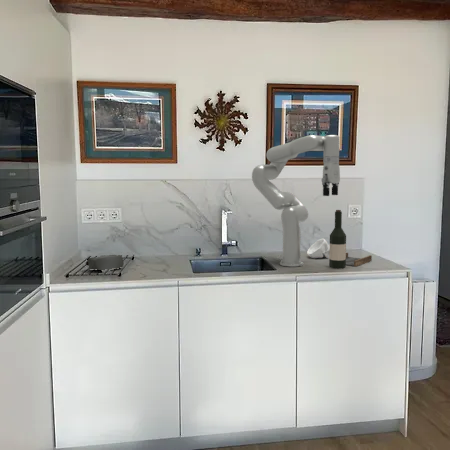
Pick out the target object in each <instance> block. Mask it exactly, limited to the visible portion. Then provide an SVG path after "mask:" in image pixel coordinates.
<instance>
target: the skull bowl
mask: <svg viewBox="0 0 450 450" xmlns="http://www.w3.org/2000/svg"><path fill="white" fill-rule="evenodd" d="M329 252H330V244H328V242H327V240H326V239H325V238H323V237H322V238H320V239H317V240H316V241H315V242H314V243H313V244H311V246H309V248H308V249H307V252H306V254H307V255H308V257H310V258H312V259H320V258H323V257H325V258H326V259H329Z"/></svg>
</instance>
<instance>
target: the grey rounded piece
mask: <svg viewBox="0 0 450 450" xmlns="http://www.w3.org/2000/svg"><path fill="white" fill-rule="evenodd" d="M85 264H86V265H85V266H88V270H89V269H97V270H105V269H112V268H120V267H122V268H123V266H124V264H125V262H124V258H123V256H122V254H121V255H120V254H109V255H107V254H106V255H100V256H97V257H95V256H94V257H88V259H87V261H86V262H85Z"/></svg>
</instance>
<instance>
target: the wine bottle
mask: <svg viewBox="0 0 450 450" xmlns="http://www.w3.org/2000/svg"><path fill="white" fill-rule="evenodd" d="M342 215H343V213H342V211H341V209H336V210H335V211H334V228H333V229H332V231H331V232H330V234H329V245H330V252H329V258H328V259H329V260H328V262H329V263H328V264H329V266H328V267H330V268H331V269H345V268H346V266H347V265H346V253H347V235H346V233H345V231H344V229H343V228H342V224H343V223H342V220H343V219H342Z"/></svg>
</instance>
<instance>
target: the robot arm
mask: <svg viewBox="0 0 450 450" xmlns="http://www.w3.org/2000/svg"><path fill="white" fill-rule="evenodd" d="M310 151H315V152H323V156H322V157H323V162H322V163H323V167H322V168H323V169H322V178H321V184H322V196H323V197H329V196H330V184H331V186H332V187H331V196H338V195H339V185H340V182H341V174H340V173H341V171H340V136H339V135H337V134H329V135H316V134H309V135H306V136H302V137H300V138H295V139H294V140H292V141H290V142H289V141H288V142H286V143H283V144H279V145H275V146H273V147H270V148H269V149H268V150H267V151H266V159H267V160H268V161H269V162H270V163H269V164H259V165H257V166H255V167H254V168H253V170H252V172H251V180H252V183H253V186H254V187H255V188H256V189H257V190H258V192H259V193H261V195H262V196H263V197H264V198H265V199H266V201H268V203H269V204H270V205H271V206H272V207H273V208H274V209H275V210H278V211H279V210H280V211H281V215H280V219H281V224H282V255H277V257H276V259H277V260H280V262H279V265H280V266H283V267H289V268H290V267H293V268H295V267H302V266H303V265H304V262H303V261H301V245H302V244H301V243H302V242H301V240H302V239H301V237H302V236H301V235H302V234H301V227H300V224H301V223H304V222H305V221H307V219H308V217H309V212H308V209H307V207H306V206H305V205H304V204H303V202H301V201H300V199H298V198H297V197H296V195H294V193H292V192H290V191H281V190H280V189H279V188H278V186H276V184H274V183H273V182H272V180H276V179H277V178H278V177H279V176H280V174H281V172H282V170H283V169H284V167H285V166H286V164H287V163H288V161H289V160H292V159H295V158H297V157H298V155H299V154H303V153H306V152H310ZM270 180H271V181H270Z"/></svg>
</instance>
